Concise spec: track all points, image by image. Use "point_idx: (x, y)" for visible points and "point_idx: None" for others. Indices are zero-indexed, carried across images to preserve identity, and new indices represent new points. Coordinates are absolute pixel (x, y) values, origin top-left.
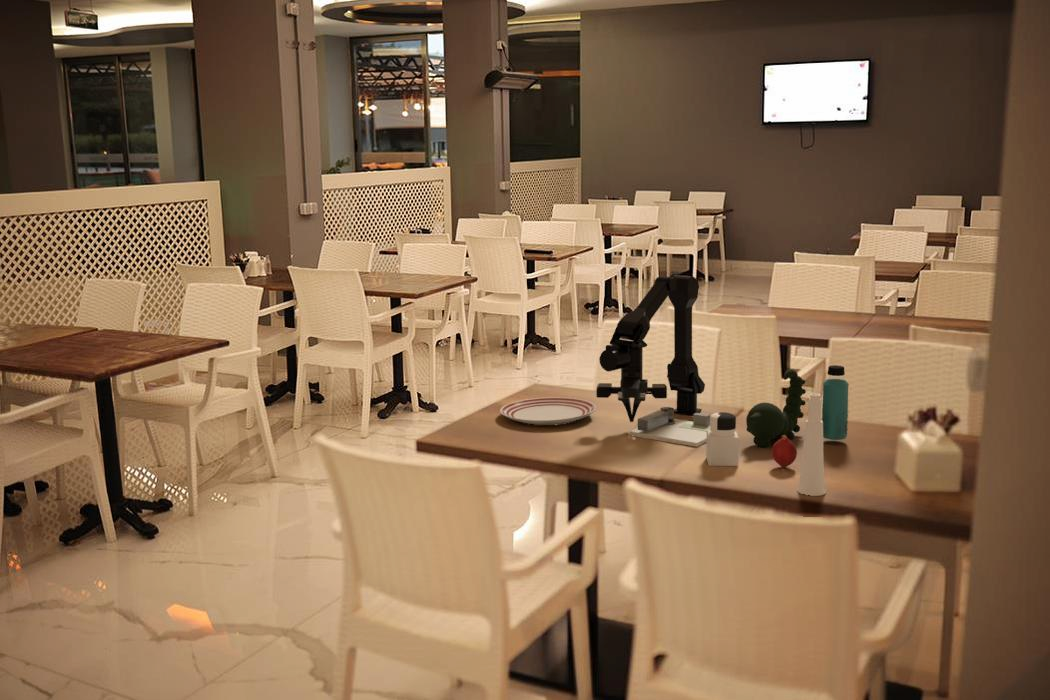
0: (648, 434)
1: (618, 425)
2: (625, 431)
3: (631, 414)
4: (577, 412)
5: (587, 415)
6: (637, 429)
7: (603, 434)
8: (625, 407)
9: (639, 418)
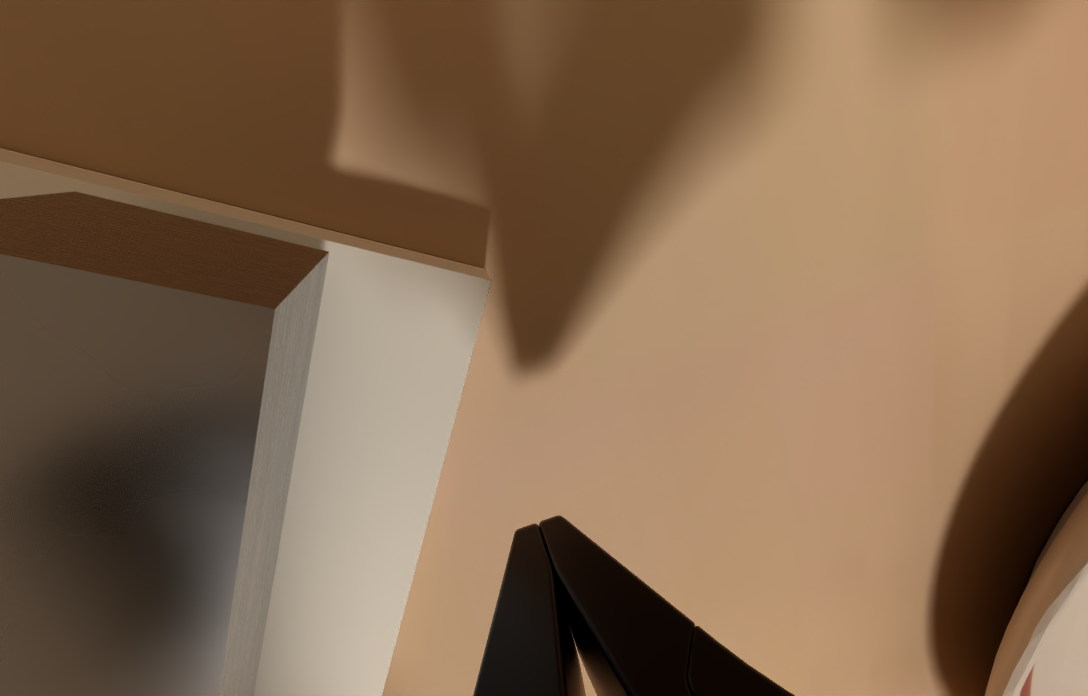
0: (90, 190)
1: (697, 574)
2: (580, 409)
3: (581, 646)
4: (1056, 675)
5: (1056, 563)
6: (411, 414)
7: (810, 188)
8: (775, 688)
9: (246, 367)
